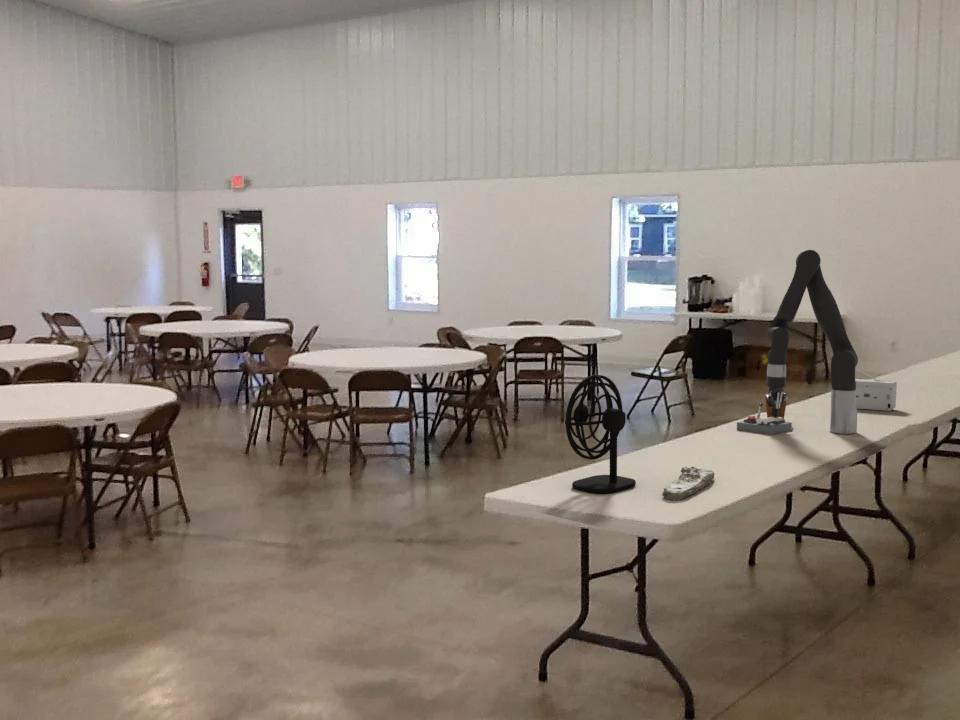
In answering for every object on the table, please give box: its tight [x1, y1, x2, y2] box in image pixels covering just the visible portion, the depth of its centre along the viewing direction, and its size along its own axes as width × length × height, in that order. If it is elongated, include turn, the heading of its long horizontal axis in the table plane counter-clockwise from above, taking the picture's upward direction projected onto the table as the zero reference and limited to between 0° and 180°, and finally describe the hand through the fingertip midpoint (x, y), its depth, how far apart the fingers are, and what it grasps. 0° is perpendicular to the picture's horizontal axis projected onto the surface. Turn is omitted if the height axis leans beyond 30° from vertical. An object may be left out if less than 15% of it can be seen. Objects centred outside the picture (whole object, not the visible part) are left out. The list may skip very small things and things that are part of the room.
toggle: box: [756, 402, 764, 419], centre depth 423 cm, size 2×2×7 cm
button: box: [747, 414, 756, 420], centre depth 416 cm, size 3×3×1 cm
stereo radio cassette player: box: [855, 367, 897, 412], centre depth 463 cm, size 21×8×20 cm, turn 58°
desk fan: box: [564, 374, 637, 494], centre depth 319 cm, size 27×18×35 cm, turn 134°
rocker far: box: [756, 417, 775, 424], centre depth 410 cm, size 6×4×2 cm, turn 43°
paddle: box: [769, 417, 783, 421], centre depth 415 cm, size 4×4×1 cm
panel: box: [736, 417, 793, 435], centre depth 415 cm, size 16×15×4 cm
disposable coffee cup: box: [764, 393, 789, 420], centre depth 430 cm, size 10×10×12 cm
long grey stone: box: [661, 465, 716, 502], centre depth 317 cm, size 35×5×10 cm
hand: (775, 417), depth 415 cm, fingers closed
